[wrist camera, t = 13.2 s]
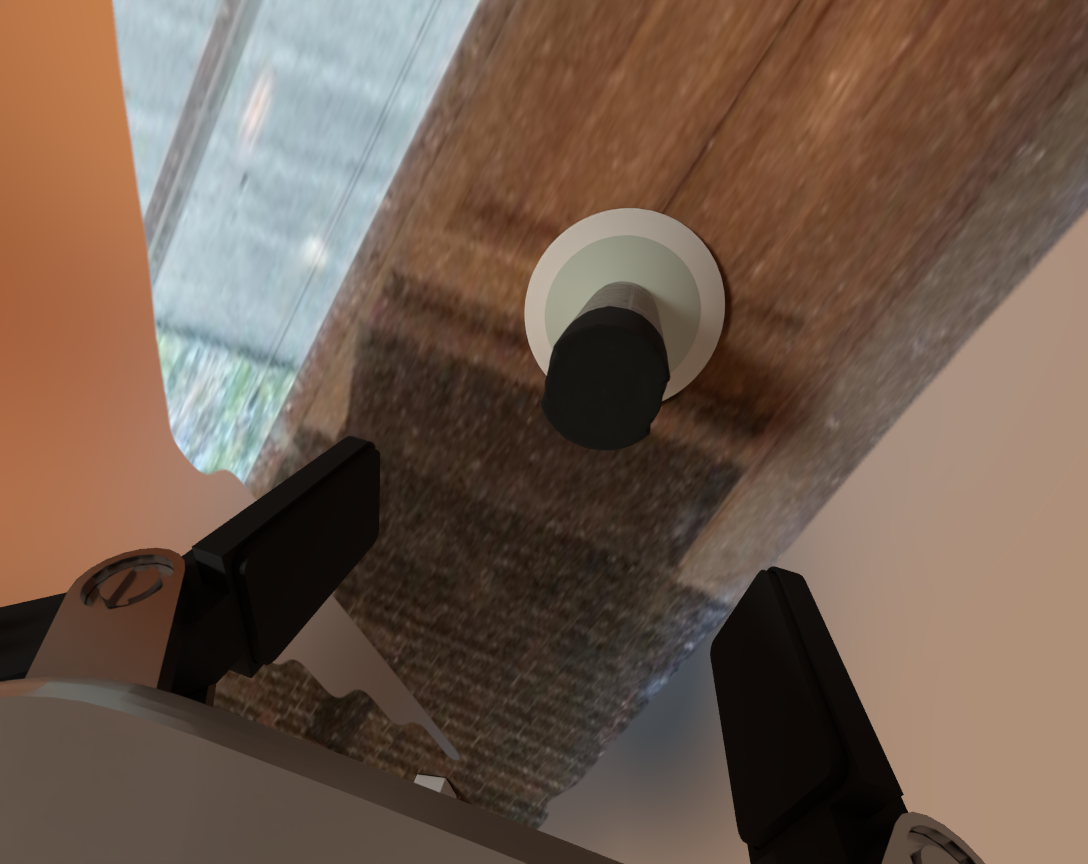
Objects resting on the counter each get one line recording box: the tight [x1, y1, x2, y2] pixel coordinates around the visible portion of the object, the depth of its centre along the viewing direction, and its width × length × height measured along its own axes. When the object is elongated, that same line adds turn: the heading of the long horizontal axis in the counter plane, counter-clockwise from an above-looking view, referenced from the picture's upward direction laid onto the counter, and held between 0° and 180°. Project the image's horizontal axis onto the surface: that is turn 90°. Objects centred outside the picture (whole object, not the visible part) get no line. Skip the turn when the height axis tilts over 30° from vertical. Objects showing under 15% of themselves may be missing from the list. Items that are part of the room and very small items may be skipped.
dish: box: [525, 208, 725, 401], centre depth 38 cm, size 18×18×1 cm
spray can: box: [541, 281, 671, 450], centre depth 28 cm, size 7×7×20 cm
